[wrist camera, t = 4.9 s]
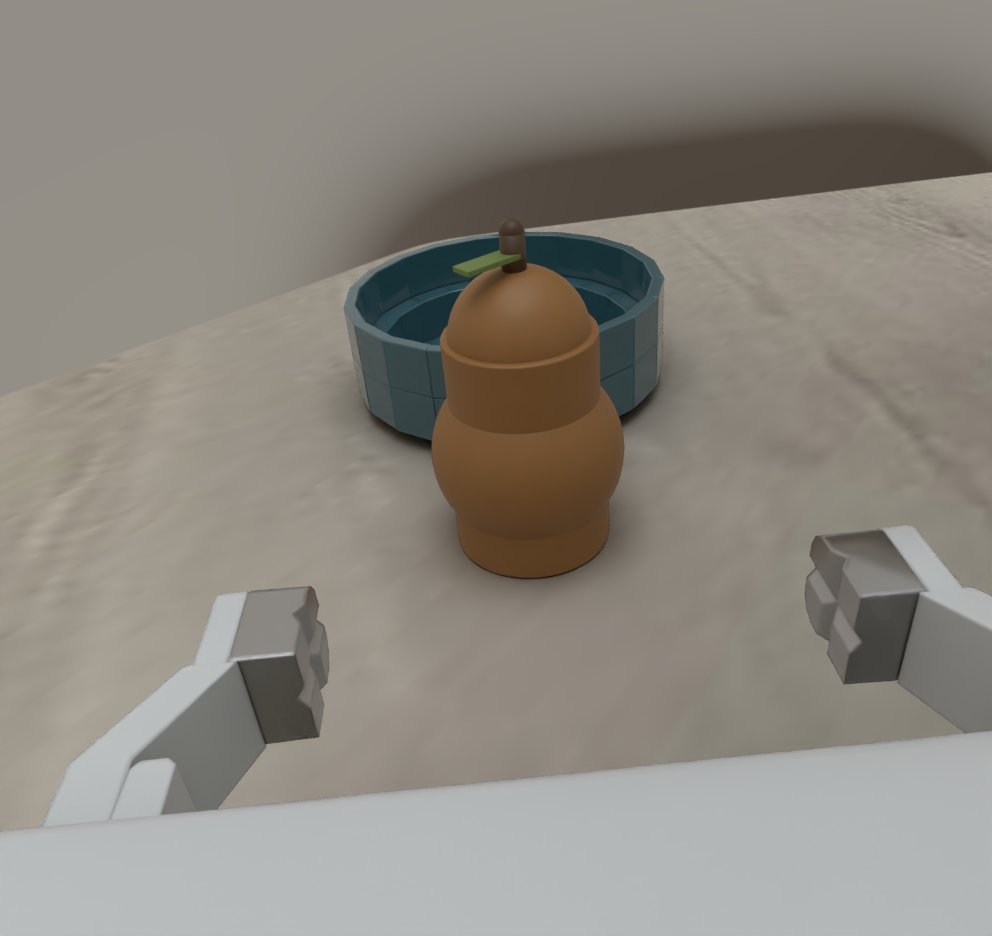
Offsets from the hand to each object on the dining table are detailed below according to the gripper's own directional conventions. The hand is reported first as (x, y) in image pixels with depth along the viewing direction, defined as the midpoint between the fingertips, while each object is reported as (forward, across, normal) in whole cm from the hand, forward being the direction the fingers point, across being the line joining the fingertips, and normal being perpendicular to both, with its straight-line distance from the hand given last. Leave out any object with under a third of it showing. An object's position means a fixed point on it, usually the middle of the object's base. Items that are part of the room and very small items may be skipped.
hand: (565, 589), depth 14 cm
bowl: (+23, 0, +8) cm, 25 cm away
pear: (+12, 0, +8) cm, 15 cm away
